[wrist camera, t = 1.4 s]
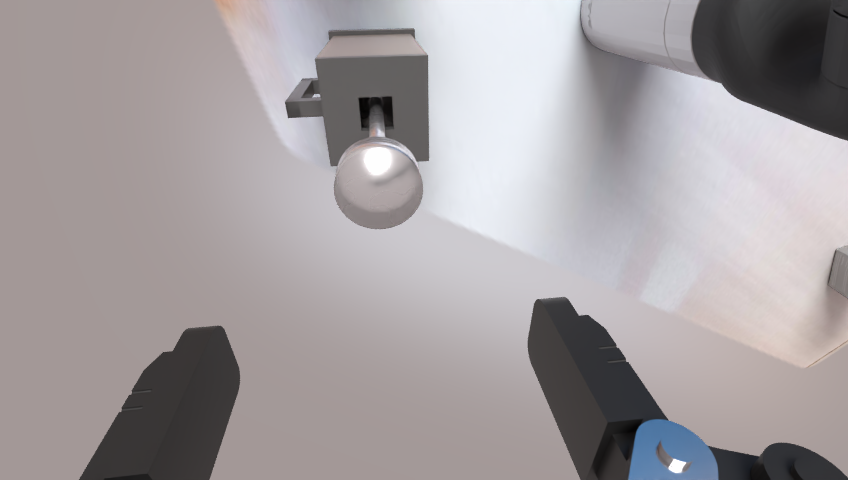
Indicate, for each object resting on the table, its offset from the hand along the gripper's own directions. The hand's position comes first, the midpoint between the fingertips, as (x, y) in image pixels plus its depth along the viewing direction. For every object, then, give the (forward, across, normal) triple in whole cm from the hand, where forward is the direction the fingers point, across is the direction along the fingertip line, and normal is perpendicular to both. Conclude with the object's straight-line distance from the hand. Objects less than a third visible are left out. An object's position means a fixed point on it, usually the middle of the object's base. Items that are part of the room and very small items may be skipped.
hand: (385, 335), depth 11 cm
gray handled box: (+38, +1, 0) cm, 38 cm away
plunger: (+26, 0, 0) cm, 26 cm away
